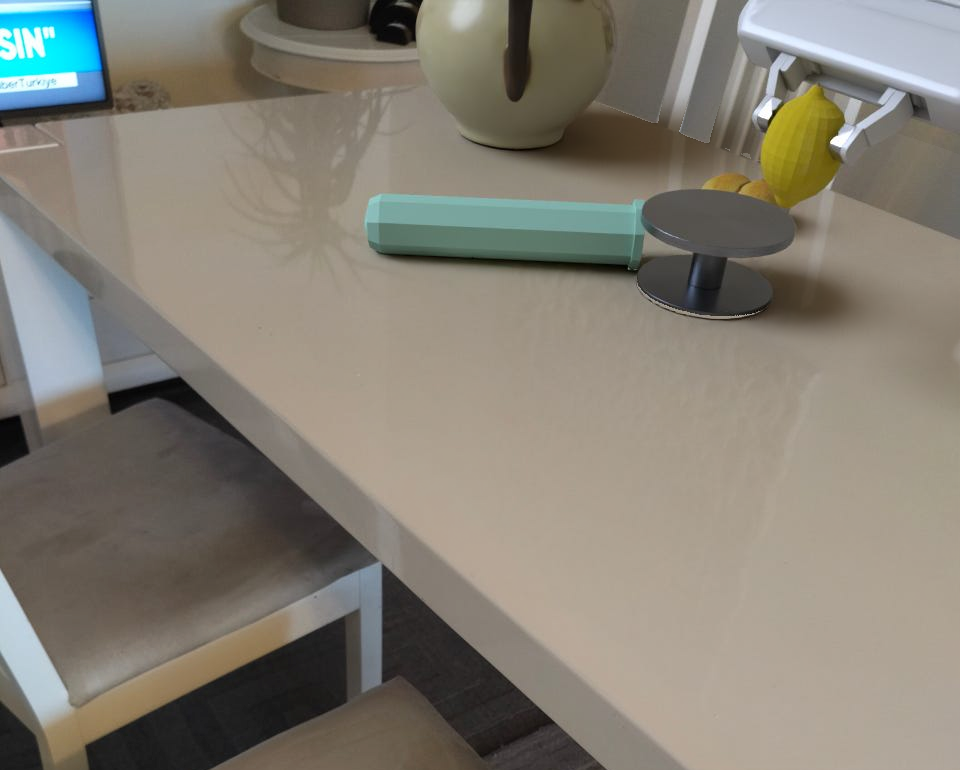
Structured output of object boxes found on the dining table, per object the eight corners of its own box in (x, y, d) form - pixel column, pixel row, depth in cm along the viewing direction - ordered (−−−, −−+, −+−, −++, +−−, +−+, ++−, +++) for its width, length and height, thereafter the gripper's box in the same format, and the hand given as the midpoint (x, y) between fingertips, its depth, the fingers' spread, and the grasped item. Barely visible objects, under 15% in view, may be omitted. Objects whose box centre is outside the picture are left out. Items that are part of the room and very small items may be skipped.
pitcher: (520, 95, 126) (538, -152, 109) (651, 148, 114) (695, -121, 96) (378, 122, 116) (372, -147, 98) (505, 184, 103) (524, -112, 86)
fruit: (837, 223, 68) (875, 96, 62) (760, 221, 67) (791, 94, 62) (813, 193, 72) (847, 72, 66) (740, 192, 71) (767, 69, 66)
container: (359, 184, 84) (648, 197, 84) (368, 189, 90) (639, 201, 90) (359, 257, 86) (641, 270, 86) (368, 257, 92) (633, 270, 92)
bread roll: (718, 196, 104) (727, 156, 101) (795, 220, 100) (806, 179, 97) (678, 216, 99) (685, 175, 96) (756, 242, 95) (766, 200, 92)
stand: (795, 282, 89) (815, 211, 84) (748, 337, 81) (767, 262, 76) (664, 247, 93) (676, 178, 89) (606, 295, 85) (616, 222, 81)
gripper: (1088, 31, 60) (935, 221, 63) (830, -33, 72) (709, 130, 75) (1084, -51, 55) (917, 160, 58) (807, -106, 67) (678, 71, 69)
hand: (798, 142), depth 66 cm, fingers closed on fruit, 5 cm apart
